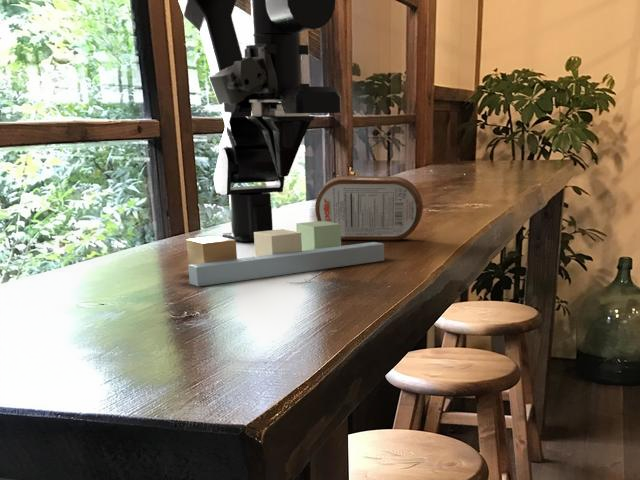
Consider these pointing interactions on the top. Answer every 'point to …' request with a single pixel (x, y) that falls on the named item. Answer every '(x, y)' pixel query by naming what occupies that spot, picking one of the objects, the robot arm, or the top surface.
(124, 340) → the top surface
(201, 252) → the maple block
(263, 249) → the cream block
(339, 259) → the straightedge
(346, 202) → the tin
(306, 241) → the sage block
